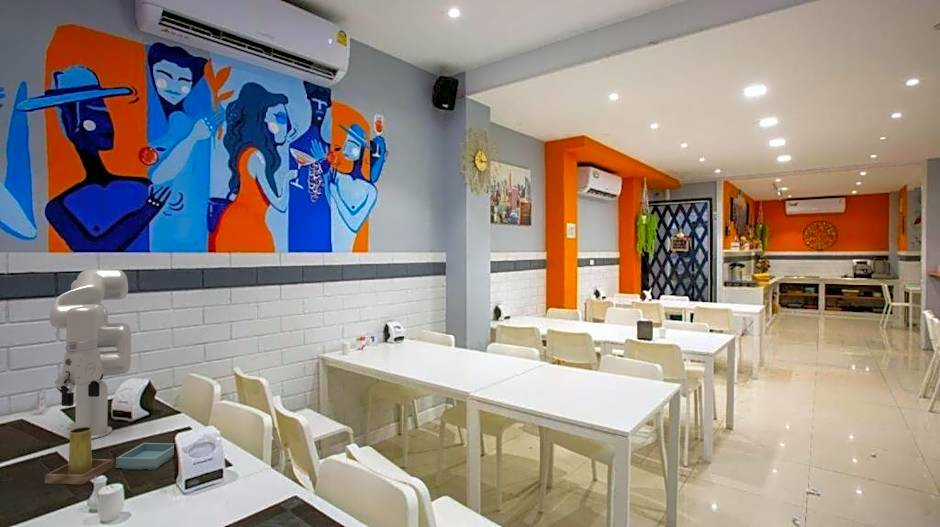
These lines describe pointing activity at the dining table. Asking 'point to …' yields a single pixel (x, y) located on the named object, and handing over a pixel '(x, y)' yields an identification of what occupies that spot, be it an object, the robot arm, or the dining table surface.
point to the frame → (63, 478)
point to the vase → (80, 451)
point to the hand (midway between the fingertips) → (81, 400)
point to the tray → (146, 456)
